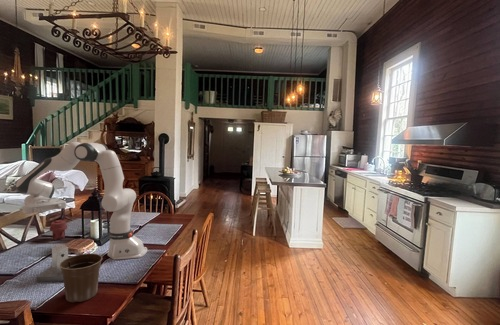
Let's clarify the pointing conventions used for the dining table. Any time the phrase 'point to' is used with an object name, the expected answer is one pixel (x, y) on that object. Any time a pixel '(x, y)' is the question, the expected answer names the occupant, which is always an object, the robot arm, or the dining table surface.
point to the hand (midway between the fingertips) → (50, 209)
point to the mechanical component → (58, 229)
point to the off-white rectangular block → (58, 256)
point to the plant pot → (81, 276)
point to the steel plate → (50, 276)
